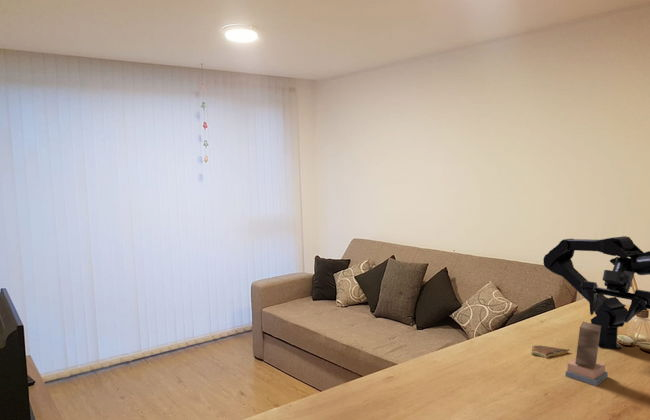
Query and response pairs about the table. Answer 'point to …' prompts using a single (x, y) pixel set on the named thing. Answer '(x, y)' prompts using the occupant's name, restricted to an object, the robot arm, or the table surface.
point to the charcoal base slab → (586, 379)
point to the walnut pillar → (588, 345)
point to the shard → (547, 351)
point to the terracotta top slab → (586, 369)
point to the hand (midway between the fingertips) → (608, 318)
